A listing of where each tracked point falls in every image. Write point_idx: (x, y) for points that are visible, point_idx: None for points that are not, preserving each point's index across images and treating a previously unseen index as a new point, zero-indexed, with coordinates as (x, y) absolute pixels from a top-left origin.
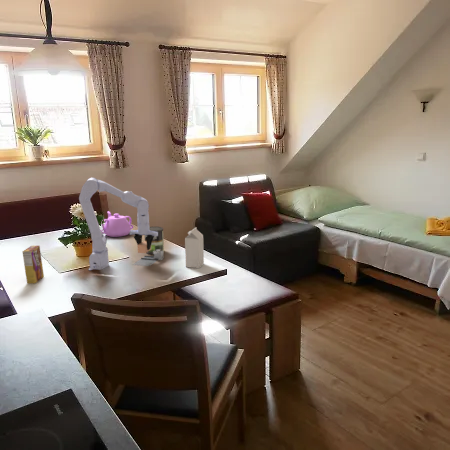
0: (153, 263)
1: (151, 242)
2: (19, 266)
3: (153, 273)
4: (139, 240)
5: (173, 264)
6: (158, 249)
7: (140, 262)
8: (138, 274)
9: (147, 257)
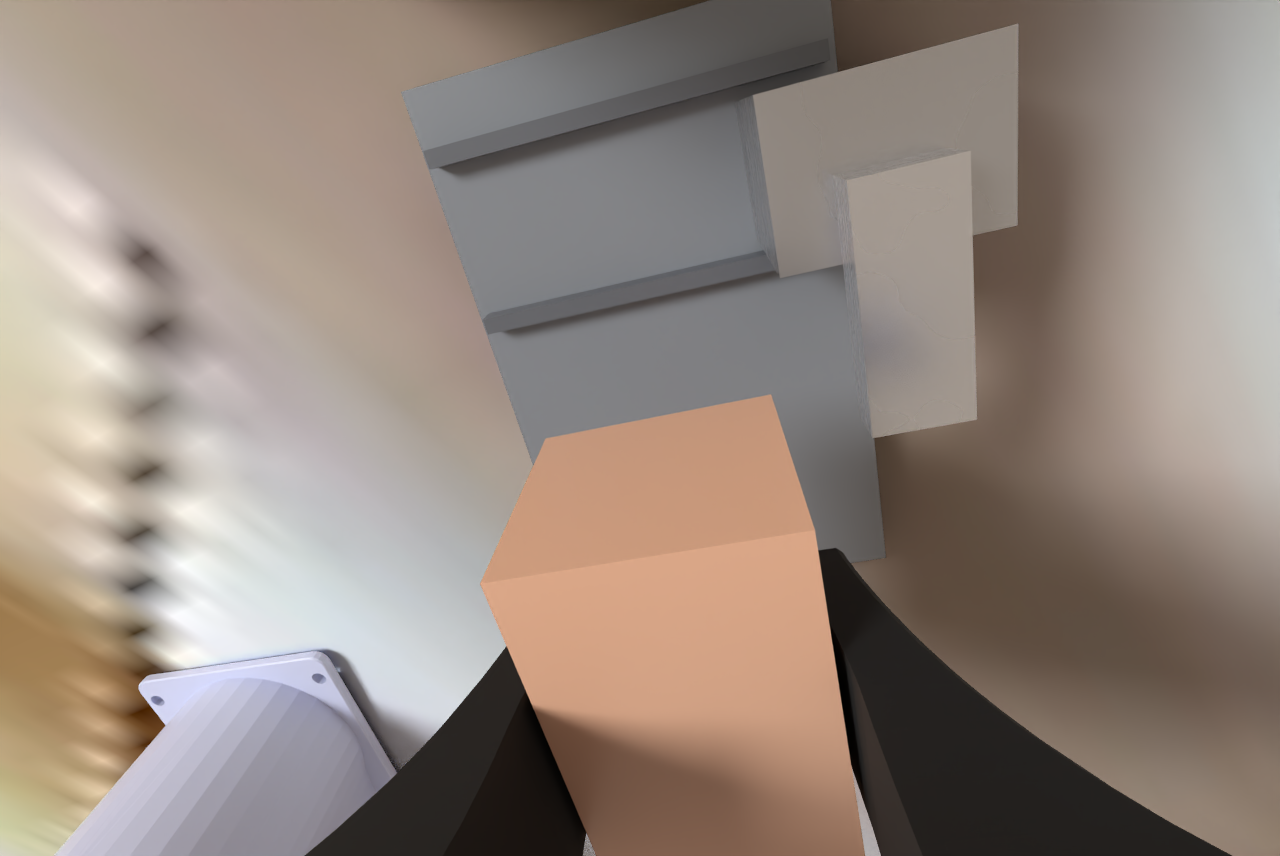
0: None
1: (954, 680)
2: None
3: (1039, 670)
4: None
5: (1242, 199)
6: (923, 190)
7: None
8: None
9: (531, 179)
